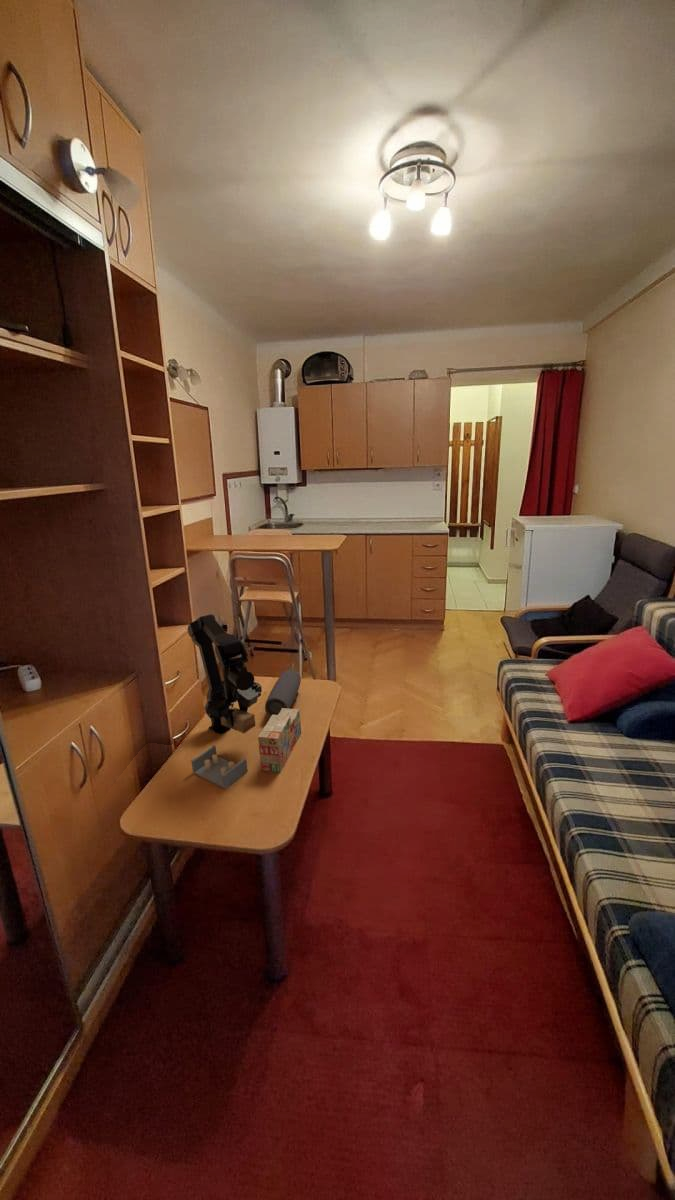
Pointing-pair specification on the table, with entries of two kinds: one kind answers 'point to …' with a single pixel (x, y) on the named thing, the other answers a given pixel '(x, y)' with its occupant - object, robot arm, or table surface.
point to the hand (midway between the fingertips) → (237, 722)
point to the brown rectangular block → (240, 720)
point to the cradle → (218, 768)
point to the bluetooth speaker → (283, 692)
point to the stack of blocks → (279, 739)
